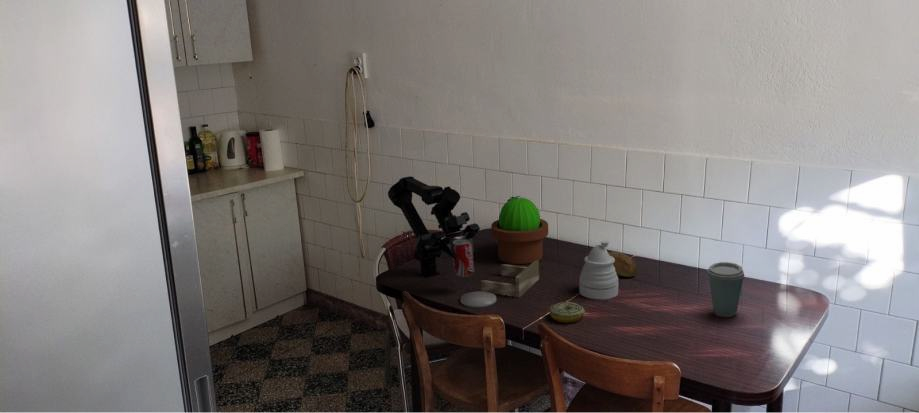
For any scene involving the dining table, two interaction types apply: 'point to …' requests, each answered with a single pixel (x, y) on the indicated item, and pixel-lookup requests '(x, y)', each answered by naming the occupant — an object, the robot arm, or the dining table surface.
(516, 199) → the potted cactus
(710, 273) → the disposable coffee cup
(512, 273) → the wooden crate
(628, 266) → the bread roll
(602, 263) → the honey pot
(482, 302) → the saucer
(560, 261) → the dining table surface
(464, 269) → the soda can
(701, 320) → the dining table surface
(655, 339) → the dining table surface
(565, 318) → the decorated donut
